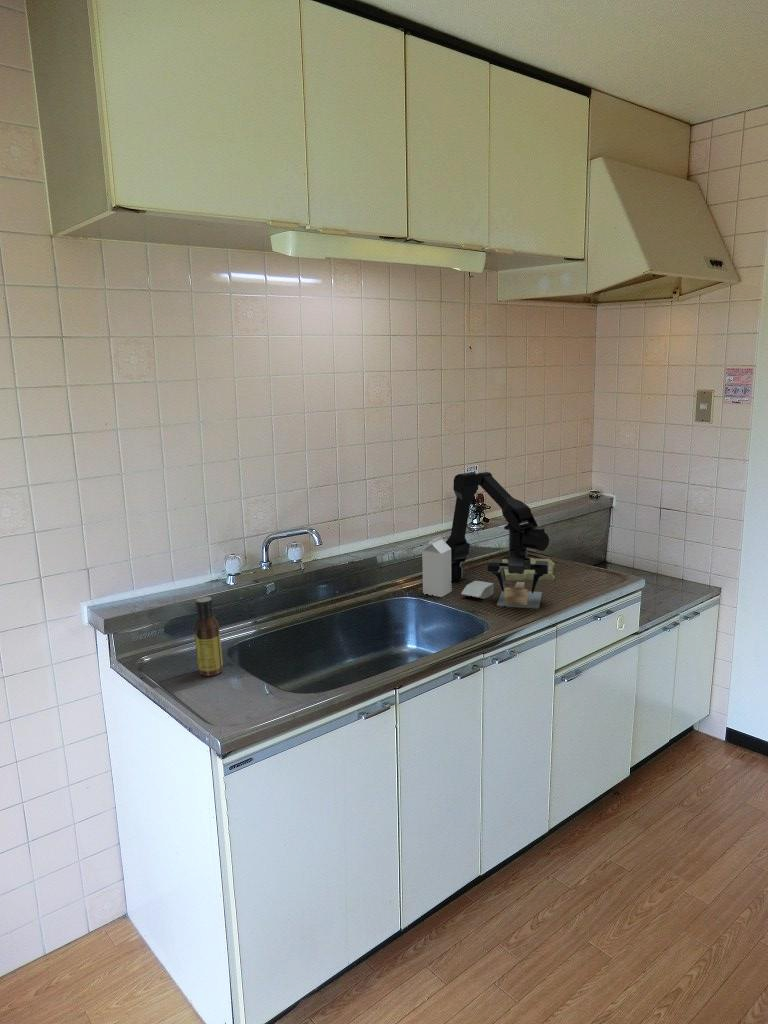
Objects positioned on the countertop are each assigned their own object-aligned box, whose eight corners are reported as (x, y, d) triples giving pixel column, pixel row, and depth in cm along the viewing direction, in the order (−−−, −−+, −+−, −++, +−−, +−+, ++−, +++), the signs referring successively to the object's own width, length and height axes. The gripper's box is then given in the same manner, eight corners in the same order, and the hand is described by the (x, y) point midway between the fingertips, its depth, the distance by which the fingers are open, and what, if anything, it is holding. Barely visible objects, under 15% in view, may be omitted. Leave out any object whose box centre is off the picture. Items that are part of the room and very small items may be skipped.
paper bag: (475, 580, 246) (460, 588, 238) (493, 583, 242) (479, 591, 234) (475, 590, 247) (460, 599, 239) (493, 594, 243) (479, 602, 235)
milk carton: (451, 591, 246) (451, 537, 242) (441, 597, 240) (440, 541, 237) (433, 588, 250) (432, 534, 246) (422, 594, 244) (421, 539, 240)
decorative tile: (505, 581, 257) (505, 572, 257) (502, 566, 277) (502, 556, 276) (559, 582, 255) (559, 572, 255) (552, 566, 275) (552, 556, 274)
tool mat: (496, 606, 231) (496, 604, 231) (502, 591, 245) (502, 589, 245) (538, 608, 227) (538, 606, 227) (541, 593, 241) (541, 592, 241)
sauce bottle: (207, 666, 191) (201, 593, 187) (228, 669, 189) (222, 595, 185) (192, 676, 185) (186, 601, 181) (213, 679, 183) (207, 603, 179)
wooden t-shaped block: (504, 603, 231) (504, 588, 230) (510, 592, 241) (510, 578, 240) (526, 605, 229) (527, 589, 228) (531, 594, 239) (531, 579, 238)
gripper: (485, 550, 225) (485, 598, 229) (547, 552, 220) (546, 602, 224) (489, 541, 236) (489, 587, 239) (549, 543, 231) (548, 590, 234)
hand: (517, 592), depth 234 cm, fingers open, 9 cm apart
